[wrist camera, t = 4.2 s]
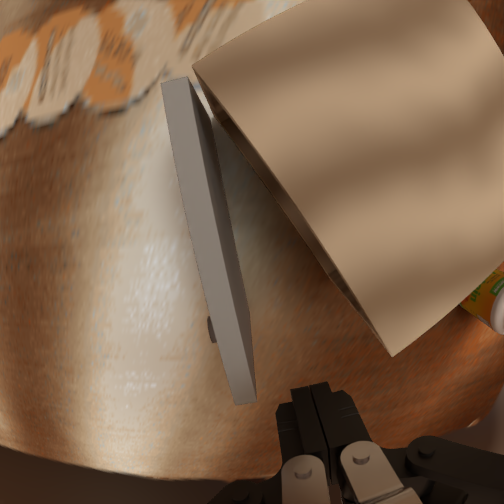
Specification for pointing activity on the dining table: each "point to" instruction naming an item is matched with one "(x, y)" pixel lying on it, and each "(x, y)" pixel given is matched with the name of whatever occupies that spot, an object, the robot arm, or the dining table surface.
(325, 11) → the cabinet
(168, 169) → the dining table surface
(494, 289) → the supplement bottle
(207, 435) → the dining table surface
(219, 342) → the door
